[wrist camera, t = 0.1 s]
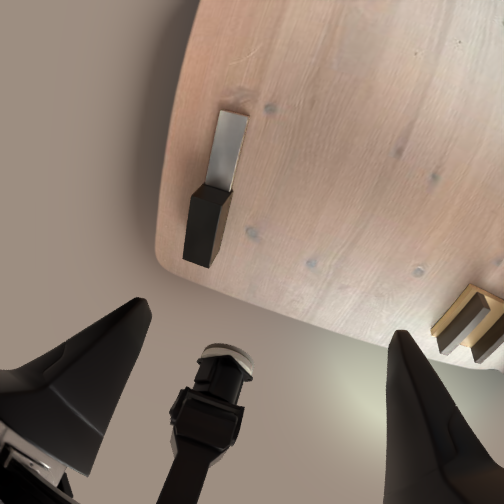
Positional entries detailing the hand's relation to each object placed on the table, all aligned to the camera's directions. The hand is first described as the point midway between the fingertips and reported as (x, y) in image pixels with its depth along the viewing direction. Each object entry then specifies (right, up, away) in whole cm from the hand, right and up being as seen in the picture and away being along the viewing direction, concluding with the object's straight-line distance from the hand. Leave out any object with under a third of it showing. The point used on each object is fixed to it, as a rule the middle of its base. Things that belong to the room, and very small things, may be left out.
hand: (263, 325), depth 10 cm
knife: (-3, +8, +16) cm, 19 cm away
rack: (+27, -6, +18) cm, 33 cm away
